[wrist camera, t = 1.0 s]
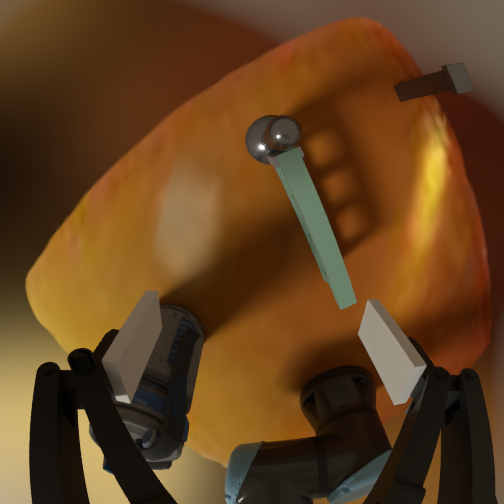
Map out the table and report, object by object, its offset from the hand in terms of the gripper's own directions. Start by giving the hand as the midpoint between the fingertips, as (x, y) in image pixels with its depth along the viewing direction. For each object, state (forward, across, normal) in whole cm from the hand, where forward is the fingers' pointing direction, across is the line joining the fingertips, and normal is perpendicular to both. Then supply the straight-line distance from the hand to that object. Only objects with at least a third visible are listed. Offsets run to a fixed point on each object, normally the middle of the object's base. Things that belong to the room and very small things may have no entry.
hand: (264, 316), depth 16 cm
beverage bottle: (+21, -11, -16) cm, 29 cm away
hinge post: (+20, +1, +11) cm, 23 cm away
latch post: (+20, +19, +21) cm, 35 cm away
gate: (+19, +6, +2) cm, 21 cm away
